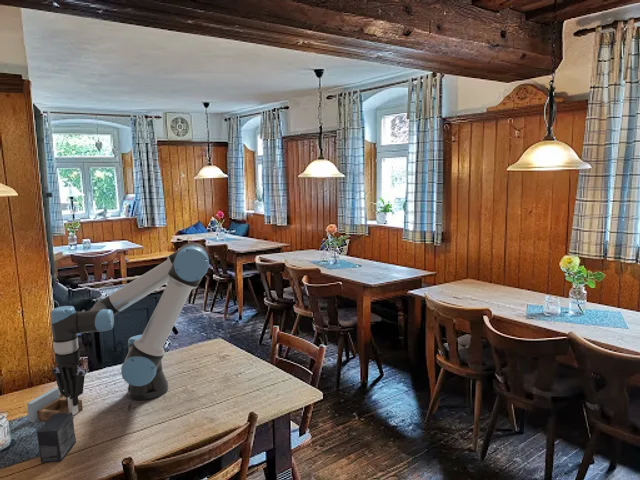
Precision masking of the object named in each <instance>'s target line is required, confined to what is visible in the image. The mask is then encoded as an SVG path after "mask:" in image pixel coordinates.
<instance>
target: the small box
mask: <svg viewBox="0 0 640 480" xmlns="http://www.w3.org/2000/svg"><path fill="white" fill-rule="evenodd" d="M74 423H75V422H74V416H73V415H72V413H61V414H53V415H52V416H51V417H50V418H49V419H48V420H47V421H46V422H43V424H42V425H41V427H40V428H39V429H38V430H37V431H36V437H37V444H38V450H39V458H40V459H39V460H40V463H41V464H44V463H45V464H46V463H57V462H58V463H59V462H62V461H63V460H64V459H65V458H66V456H67V455H68V454H69V452H70V451H71V450H72V448H73V446H75V444H76V443H77V438H76V432H75V425H74Z"/></svg>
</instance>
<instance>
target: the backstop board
mask: <svg viewBox="0 0 640 480" xmlns="http://www.w3.org/2000/svg"><path fill="white" fill-rule="evenodd" d="M59 397H61V394H60V391H59V388H58V387H53V388H52V389H50V390H48V391H46V392H45V393H43V394H42V395H39V396H38V397H36V398H34V399H32V400H30V401H29V402H27V403H26V405H27V414H28V420H29V423H35V422H38V415H37V410H39V409H41V408H42V407H44V406H46V405H47V404H49V403H51V402H52V401H54V400H56V399H57V398H59Z"/></svg>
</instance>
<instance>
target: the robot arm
mask: <svg viewBox="0 0 640 480" xmlns="http://www.w3.org/2000/svg"><path fill="white" fill-rule="evenodd" d="M209 258H210V256H209V253H208V251H207V249H206V247H205V246H204V245H203V244H201V243H197V242H191V241H190V242H187V243H185V244H183V245H182V246H180V247H179V248H178V249H177V250H176V251H174V252H173V253H171V254H169V255H167V259H166V260H165V261H163V262H161V263H160V264H158V265H156V266H155V267H154V268H152V269H150V270H149V271H147V272H145V273H143V274H142V275H140V276H139V277H136V278H135V279H134V280H132V281H130V282H129V283H126V285H124V286H122V287H120V288H119V289H117V290H115V291H114V292H112V293H111V294H109V295H108V296H105V297H104V298H101V299H99V300H97V301H96V302H95V303H94V304H93V306H92V307H91V308H90V309H89V310H84V311H77V310H76V309H75V307H74V306H73V305H63V306H58V307H55V308H52V310H51V311H50V325H51V330H52V331H51V332H52V341H53V349H54V350H53V352H54V358H55V359H54V360H55V364H56V367H54V368H53V369H51V373H52V374H53V376H54V378H55V381H56V384H57V388H59V394H60V396H64V398H66V401H67V405H68V408H69V413H72V415H75V414H76V413H78V404H79V402H78V400H79V396H81V395H83V394H84V385H85V377H86V376H85V375H86V374H87V372H88V371H87V369H83V368H81V365H80V363H79V361H80V359H81V356H80V355H81V354H80V349H79V338H78V334H86V333H96V332H97V333H98V332H102V333H103V332H105V331H106V332H107V331H110V330H112V329H114V325H115V316H116V315H118V314H119V313H120V312H122V311H124V310H125V309H127V308H129V307H130V306H131V305H133V304H135V303H137V302H139V301H140V300H142V299H144V298H145V297H147V296H148V295H150V294H151V293H153V292H155V291H156V290H158V289H159V288H161V287H163V286H164V285H166V286H165V288H164V290H163V292H162V294H161V296H160V299H159V301H158V302H157V305H156V306H155V309H154V310H153V312H152V314H151V316H150V319H149V320H148V322H147V325H146V327H145V328H144V330H143V333H142V334H138V335H134V336H131V337H129V338H128V341H127V347H128V353H127V355H126V357H125V359H124V360H123V361H124V362H122V365H121V372H120V374H121V376H122V379H123V380H124V382H126V384H128V387H127V396H128V398H129V399H131V400H134V401H135V400H136V401H148V400H152V399H153V400H154V399H155V398H158V397H160V396H163V395H164V394H166V392H167V391H168V390H169V383H168V382H169V381H168V380H167V378H166V376H165V373H164V371H163V364H162V363H163V362H162V359H163V358H164V356H165V354H166V351H165V348H164V346H165V343H166V342H167V340H168V338H169V336H170V334H171V332H172V330H173V328H174V326H175V324H176V322H177V320H178V318H179V316H180V314H181V312H182V310H183V308H184V306H185V303H187V302H186V301H187V299H188V298H189V295H190V294H191V292H192V290H194V289H197V288H198V287H199V285H200V283H201V281H202V280H203V277H205V275H206V274H207V272H208V271H209V268H210V259H209ZM78 414H79V413H78ZM76 415H77V414H76ZM76 415H75V416H76Z"/></svg>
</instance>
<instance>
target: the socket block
mask: <svg viewBox="0 0 640 480" xmlns="http://www.w3.org/2000/svg"><path fill="white" fill-rule="evenodd" d="M78 402H79V404H78V413H76V414H75V415H73V417H75V416H76V415H78V414H80V412H83V410H84V407H83V406H84V405H83V400H82V399H78ZM61 413H69V408H68V405H67V401H66V397H61V396H60V397H59V398H57V399H56V400H54V401H52V402H51V403H49V404H47V405H46V406H44V407H42V408H41V409H39V410H37V415H38V420H37V422H42V423H45V422H46V421H47V420H48V419H49V418H50V417H51V416H52V415H53V414H61Z"/></svg>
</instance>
